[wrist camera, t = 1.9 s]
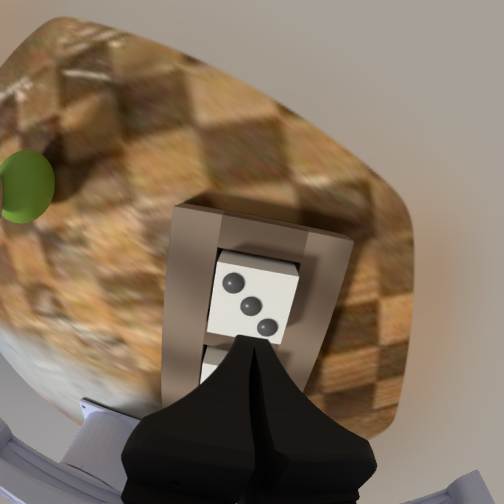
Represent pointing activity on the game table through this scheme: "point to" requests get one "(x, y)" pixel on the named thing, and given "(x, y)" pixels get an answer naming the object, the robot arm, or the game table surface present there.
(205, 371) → the tile two pips
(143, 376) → the game table surface
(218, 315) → the tile three pips
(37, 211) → the snail figurine
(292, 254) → the key board
